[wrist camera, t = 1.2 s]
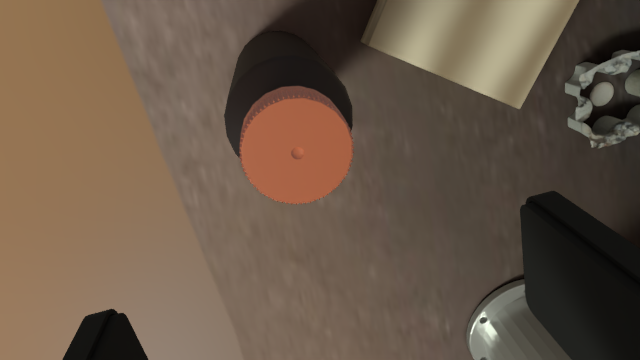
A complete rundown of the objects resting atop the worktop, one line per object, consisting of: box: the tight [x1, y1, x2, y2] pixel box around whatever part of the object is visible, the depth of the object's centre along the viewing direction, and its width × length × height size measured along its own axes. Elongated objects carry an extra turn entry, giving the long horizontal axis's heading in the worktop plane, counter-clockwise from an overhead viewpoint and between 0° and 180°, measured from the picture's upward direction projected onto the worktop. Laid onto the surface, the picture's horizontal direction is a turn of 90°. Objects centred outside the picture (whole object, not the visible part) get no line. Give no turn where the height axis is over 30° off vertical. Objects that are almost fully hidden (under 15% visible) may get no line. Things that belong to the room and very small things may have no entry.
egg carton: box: [565, 50, 640, 148], centre depth 41 cm, size 11×8×4 cm
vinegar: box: [224, 31, 354, 205], centre depth 29 cm, size 7×7×20 cm
